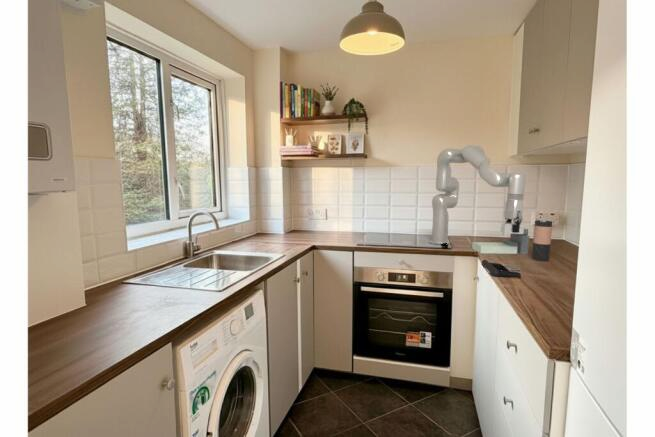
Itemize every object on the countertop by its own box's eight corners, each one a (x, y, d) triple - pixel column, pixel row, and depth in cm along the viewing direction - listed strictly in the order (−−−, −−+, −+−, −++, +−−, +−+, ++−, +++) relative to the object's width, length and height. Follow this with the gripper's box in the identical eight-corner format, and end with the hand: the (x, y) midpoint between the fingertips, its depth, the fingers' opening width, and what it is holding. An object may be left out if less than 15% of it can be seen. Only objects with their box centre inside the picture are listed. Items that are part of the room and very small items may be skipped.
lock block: (500, 231, 180) (501, 222, 179) (519, 232, 178) (519, 222, 177) (504, 233, 174) (505, 223, 173) (523, 234, 172) (524, 224, 172)
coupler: (472, 248, 198) (473, 227, 197) (519, 249, 198) (521, 227, 196) (480, 253, 186) (482, 230, 185) (531, 253, 186) (533, 230, 184)
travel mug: (540, 261, 168) (544, 222, 166) (528, 258, 176) (531, 220, 173) (552, 260, 170) (556, 221, 168) (539, 257, 178) (542, 220, 175)
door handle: (515, 262, 157) (479, 258, 160) (532, 274, 138) (490, 269, 141) (514, 269, 158) (478, 265, 161) (531, 282, 138) (489, 277, 141)
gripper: (499, 196, 182) (496, 228, 185) (516, 198, 165) (513, 234, 167) (513, 196, 182) (510, 228, 184) (532, 198, 165) (528, 234, 167)
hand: (511, 230), depth 176 cm, fingers closed on lock block, 6 cm apart
